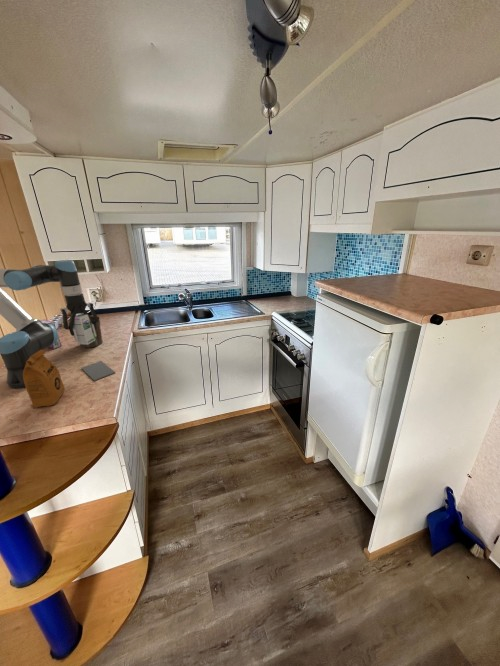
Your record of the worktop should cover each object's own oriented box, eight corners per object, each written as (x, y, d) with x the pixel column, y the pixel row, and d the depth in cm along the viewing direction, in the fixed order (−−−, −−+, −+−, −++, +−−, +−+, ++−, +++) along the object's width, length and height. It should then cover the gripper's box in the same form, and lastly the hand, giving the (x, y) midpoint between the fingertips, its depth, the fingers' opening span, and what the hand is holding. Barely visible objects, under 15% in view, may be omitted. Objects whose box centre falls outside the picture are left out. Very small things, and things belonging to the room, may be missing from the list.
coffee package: (70, 390, 122) (55, 346, 114) (55, 407, 111) (38, 360, 103) (46, 392, 121) (30, 348, 113) (29, 409, 110) (10, 362, 101)
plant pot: (90, 351, 159) (83, 326, 153) (70, 348, 164) (63, 323, 158) (111, 340, 173) (106, 317, 167) (92, 337, 178) (86, 314, 172)
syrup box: (87, 344, 133) (80, 317, 127) (77, 344, 134) (69, 316, 128) (96, 340, 138) (89, 313, 132) (86, 339, 139) (78, 313, 134)
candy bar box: (62, 346, 167) (54, 321, 160) (53, 349, 163) (45, 324, 156) (52, 343, 171) (44, 318, 165) (43, 346, 167) (35, 321, 161)
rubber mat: (94, 381, 129) (94, 380, 129) (81, 368, 140) (81, 367, 140) (115, 372, 136) (115, 371, 135) (101, 361, 147) (101, 360, 147)
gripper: (50, 300, 117) (65, 347, 126) (99, 291, 131) (109, 334, 140) (45, 297, 122) (60, 342, 131) (93, 288, 136) (104, 330, 145)
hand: (86, 338), depth 135 cm, fingers closed on syrup box, 8 cm apart
